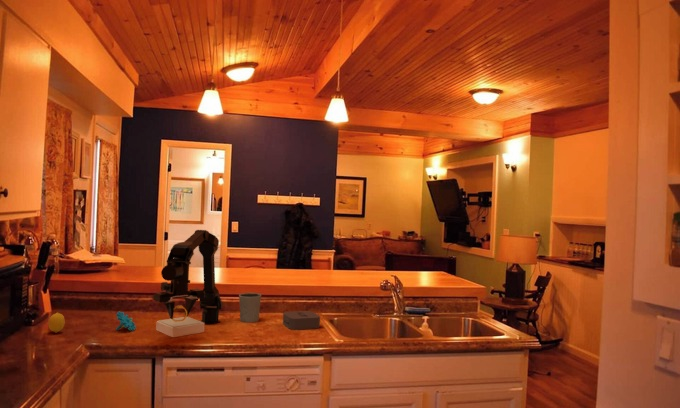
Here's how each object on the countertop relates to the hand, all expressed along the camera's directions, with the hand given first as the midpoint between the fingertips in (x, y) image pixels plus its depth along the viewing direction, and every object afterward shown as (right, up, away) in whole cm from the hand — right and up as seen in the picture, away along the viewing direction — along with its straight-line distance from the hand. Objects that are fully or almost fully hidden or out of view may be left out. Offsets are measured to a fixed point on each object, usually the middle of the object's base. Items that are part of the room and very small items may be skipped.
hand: (178, 317), depth 184 cm
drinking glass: (+20, -11, +39) cm, 45 cm away
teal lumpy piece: (-26, -8, +13) cm, 30 cm away
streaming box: (+44, -12, +34) cm, 57 cm away
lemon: (-49, -7, +3) cm, 50 cm away
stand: (-4, -9, +15) cm, 18 cm away
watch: (0, -2, 0) cm, 2 cm away
